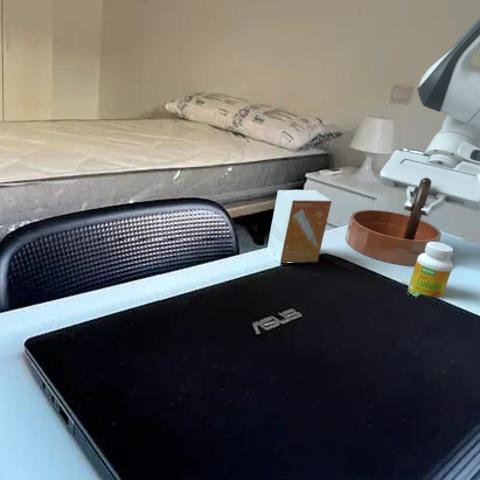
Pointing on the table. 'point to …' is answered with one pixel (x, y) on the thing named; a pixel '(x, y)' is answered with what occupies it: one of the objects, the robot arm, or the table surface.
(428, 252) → the supplement bottle
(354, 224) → the bowl
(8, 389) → the table surface
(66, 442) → the table surface
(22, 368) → the table surface
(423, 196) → the dark brown wooden dowel
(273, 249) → the small box
